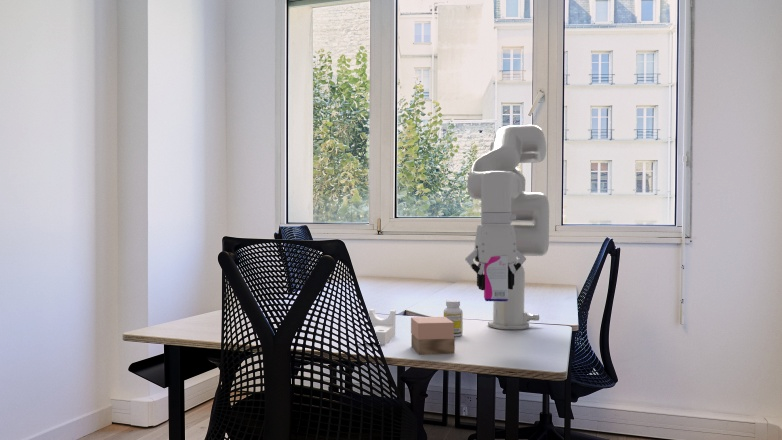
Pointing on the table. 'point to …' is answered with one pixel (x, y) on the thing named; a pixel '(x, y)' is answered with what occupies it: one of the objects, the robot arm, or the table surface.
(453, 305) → the supplement bottle
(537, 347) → the table surface
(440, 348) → the tower bottom
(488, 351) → the table surface
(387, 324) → the bracket
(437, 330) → the tower top
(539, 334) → the table surface
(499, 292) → the supplement box
